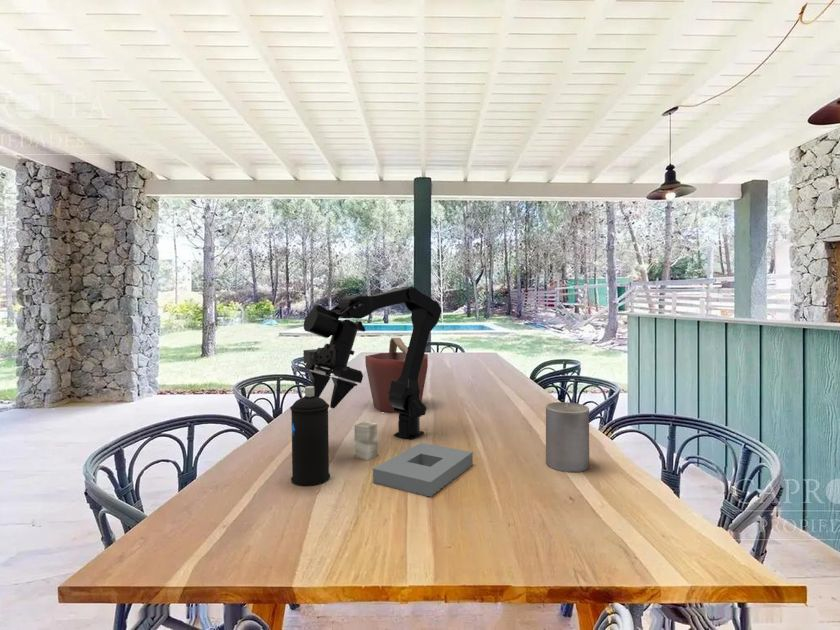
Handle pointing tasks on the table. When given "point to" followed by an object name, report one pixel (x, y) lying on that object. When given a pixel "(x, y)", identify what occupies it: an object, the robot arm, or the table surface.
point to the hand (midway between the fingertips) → (322, 404)
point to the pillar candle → (567, 436)
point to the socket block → (423, 468)
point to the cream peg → (366, 440)
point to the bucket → (390, 373)
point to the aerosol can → (310, 440)
